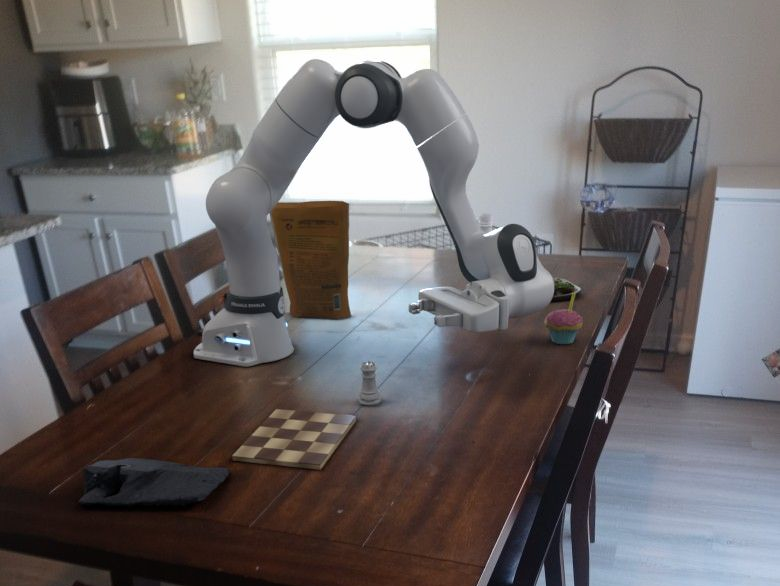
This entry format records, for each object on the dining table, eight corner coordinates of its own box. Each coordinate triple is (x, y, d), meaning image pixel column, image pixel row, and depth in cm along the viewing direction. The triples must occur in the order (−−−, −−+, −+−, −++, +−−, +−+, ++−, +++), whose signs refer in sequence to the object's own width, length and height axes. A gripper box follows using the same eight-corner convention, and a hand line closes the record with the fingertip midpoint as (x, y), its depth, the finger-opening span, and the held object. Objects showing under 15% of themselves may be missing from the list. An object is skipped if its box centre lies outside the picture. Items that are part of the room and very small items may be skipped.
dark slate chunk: (202, 518, 128) (197, 491, 125) (70, 507, 132) (63, 481, 129) (237, 471, 141) (233, 446, 138) (116, 463, 145) (110, 438, 142)
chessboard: (232, 460, 144) (231, 455, 144) (276, 413, 161) (276, 408, 160) (320, 470, 140) (320, 464, 140) (356, 420, 157) (356, 415, 156)
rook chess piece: (364, 408, 162) (362, 369, 157) (354, 400, 165) (352, 361, 161) (385, 403, 163) (384, 364, 159) (375, 395, 167) (373, 357, 162)
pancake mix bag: (351, 322, 206) (344, 203, 191) (278, 318, 210) (266, 201, 196) (359, 314, 212) (353, 197, 197) (288, 310, 216) (277, 196, 201)
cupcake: (585, 337, 192) (590, 285, 186) (576, 349, 186) (580, 295, 179) (548, 333, 195) (552, 281, 189) (538, 344, 189) (541, 291, 183)
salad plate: (497, 285, 230) (498, 268, 228) (558, 279, 233) (560, 262, 231) (522, 305, 214) (523, 287, 211) (587, 299, 217) (589, 281, 215)
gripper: (453, 275, 173) (395, 286, 167) (513, 299, 158) (451, 312, 152) (453, 305, 176) (396, 317, 171) (512, 331, 161) (451, 346, 155)
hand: (422, 315), depth 161 cm, fingers open, 8 cm apart
